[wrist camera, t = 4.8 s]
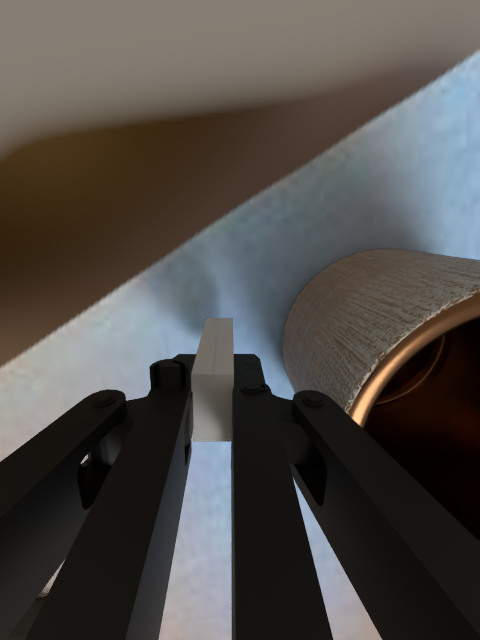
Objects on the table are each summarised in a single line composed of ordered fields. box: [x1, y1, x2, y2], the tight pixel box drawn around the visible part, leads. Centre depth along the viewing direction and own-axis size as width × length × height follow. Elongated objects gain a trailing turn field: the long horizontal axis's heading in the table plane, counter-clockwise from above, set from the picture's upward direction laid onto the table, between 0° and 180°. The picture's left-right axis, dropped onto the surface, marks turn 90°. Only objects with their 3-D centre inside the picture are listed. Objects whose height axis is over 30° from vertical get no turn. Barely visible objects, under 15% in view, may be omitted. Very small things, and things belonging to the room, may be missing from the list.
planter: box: [282, 249, 480, 542], centre depth 13 cm, size 11×11×10 cm
